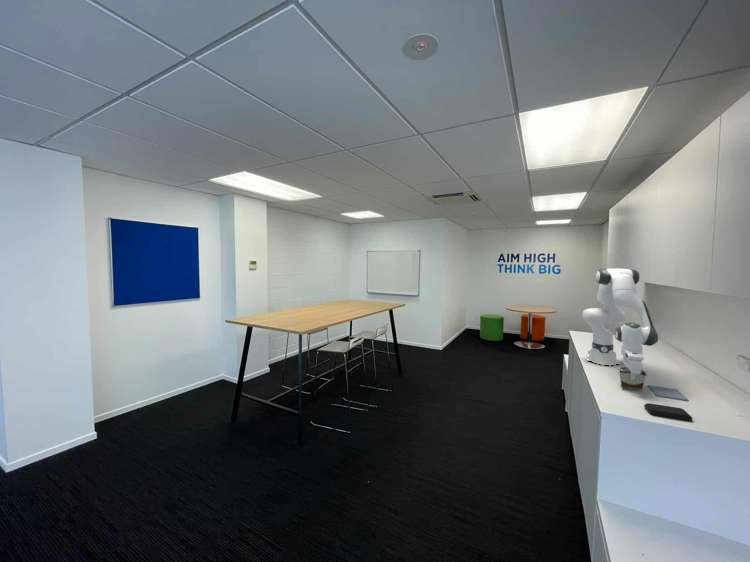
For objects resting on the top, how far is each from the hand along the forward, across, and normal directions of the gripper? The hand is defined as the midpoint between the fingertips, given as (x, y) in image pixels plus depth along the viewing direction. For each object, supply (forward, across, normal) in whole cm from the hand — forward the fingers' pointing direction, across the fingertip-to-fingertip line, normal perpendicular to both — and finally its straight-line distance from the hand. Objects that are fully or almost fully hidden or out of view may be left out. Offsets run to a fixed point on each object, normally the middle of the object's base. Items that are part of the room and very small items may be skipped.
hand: (630, 376), depth 164 cm
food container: (+6, -1, 0) cm, 6 cm away
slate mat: (+7, -1, +15) cm, 17 cm away
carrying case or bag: (+7, +28, +7) cm, 30 cm away
